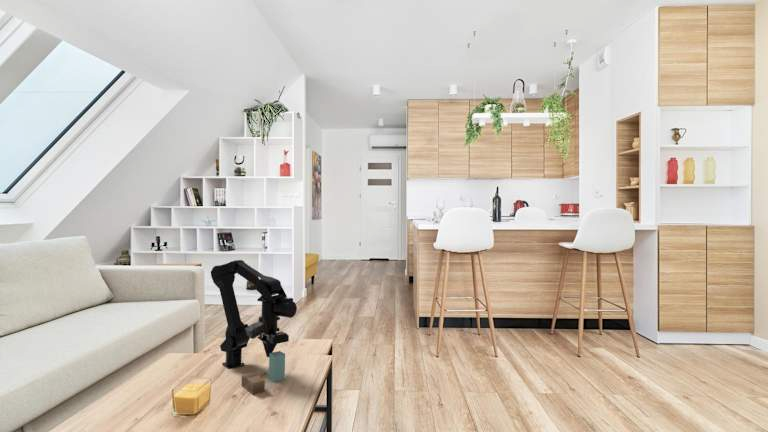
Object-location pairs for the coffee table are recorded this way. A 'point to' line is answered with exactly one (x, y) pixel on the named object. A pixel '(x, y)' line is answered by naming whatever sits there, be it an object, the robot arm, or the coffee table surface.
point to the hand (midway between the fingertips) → (268, 356)
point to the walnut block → (253, 383)
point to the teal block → (277, 366)
